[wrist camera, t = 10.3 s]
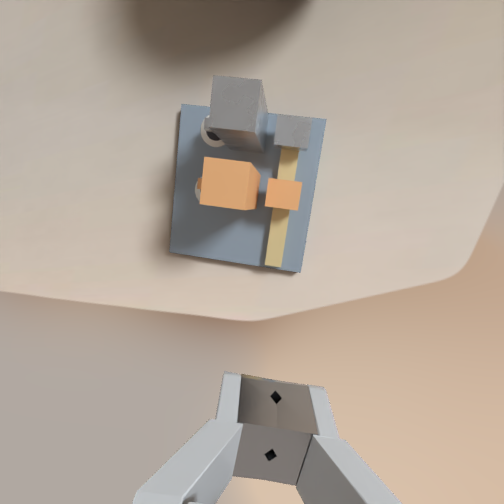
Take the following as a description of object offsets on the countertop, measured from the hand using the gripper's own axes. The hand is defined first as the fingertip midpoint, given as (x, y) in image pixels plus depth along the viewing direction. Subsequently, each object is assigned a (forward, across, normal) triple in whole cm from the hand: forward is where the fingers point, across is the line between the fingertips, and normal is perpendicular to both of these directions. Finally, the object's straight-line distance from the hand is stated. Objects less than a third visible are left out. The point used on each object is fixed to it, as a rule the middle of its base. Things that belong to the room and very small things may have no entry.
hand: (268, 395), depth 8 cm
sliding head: (+28, +2, -3) cm, 28 cm away
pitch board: (+29, +3, -2) cm, 30 cm away
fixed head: (+29, +2, -9) cm, 30 cm away
